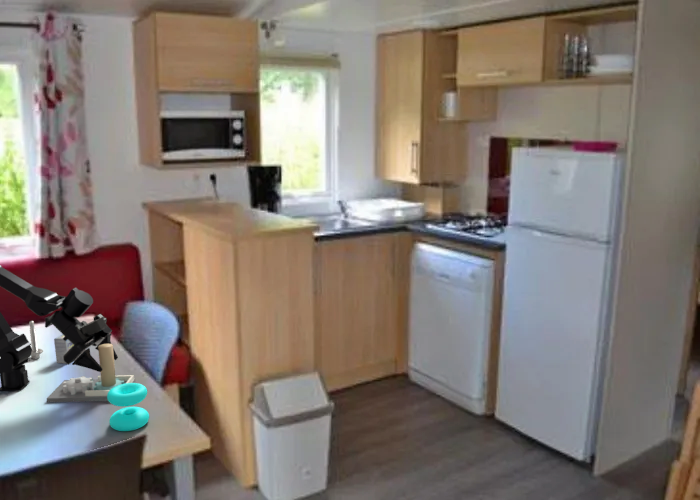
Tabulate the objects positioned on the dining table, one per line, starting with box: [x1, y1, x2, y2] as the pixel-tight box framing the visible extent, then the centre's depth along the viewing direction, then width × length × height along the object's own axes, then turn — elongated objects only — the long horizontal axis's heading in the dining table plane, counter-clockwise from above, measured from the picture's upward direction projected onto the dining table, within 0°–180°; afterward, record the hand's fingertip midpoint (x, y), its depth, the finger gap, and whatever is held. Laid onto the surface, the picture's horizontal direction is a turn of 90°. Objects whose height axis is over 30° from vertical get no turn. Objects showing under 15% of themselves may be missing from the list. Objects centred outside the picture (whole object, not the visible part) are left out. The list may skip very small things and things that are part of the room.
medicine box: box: [53, 333, 74, 365], centre depth 219 cm, size 8×4×9 cm, turn 168°
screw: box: [28, 320, 44, 360], centre depth 220 cm, size 13×5×5 cm
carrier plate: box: [46, 374, 136, 403], centre depth 193 cm, size 21×13×4 cm, turn 92°
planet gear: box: [93, 343, 124, 390], centre depth 192 cm, size 8×8×13 cm
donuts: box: [107, 382, 150, 432], centre depth 173 cm, size 10×10×10 cm
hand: (109, 364), depth 192 cm, fingers open, 9 cm apart
